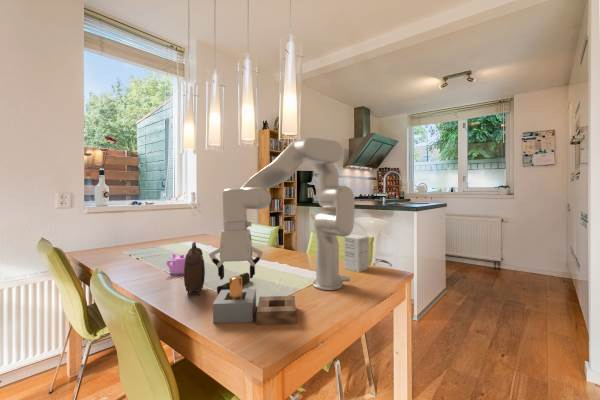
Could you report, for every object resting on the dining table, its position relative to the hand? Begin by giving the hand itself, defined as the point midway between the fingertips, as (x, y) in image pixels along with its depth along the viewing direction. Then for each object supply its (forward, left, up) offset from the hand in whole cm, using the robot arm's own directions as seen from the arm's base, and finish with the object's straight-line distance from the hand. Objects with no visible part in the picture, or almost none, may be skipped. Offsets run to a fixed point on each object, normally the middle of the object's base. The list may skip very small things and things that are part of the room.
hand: (237, 277), depth 92 cm
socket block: (0, 0, -12) cm, 12 cm away
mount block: (-13, +2, -12) cm, 18 cm away
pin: (0, 0, -12) cm, 12 cm away
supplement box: (-53, -49, -12) cm, 73 cm away
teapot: (+35, -49, -12) cm, 61 cm away
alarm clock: (+20, -21, -12) cm, 31 cm away
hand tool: (+5, -25, -13) cm, 28 cm away
